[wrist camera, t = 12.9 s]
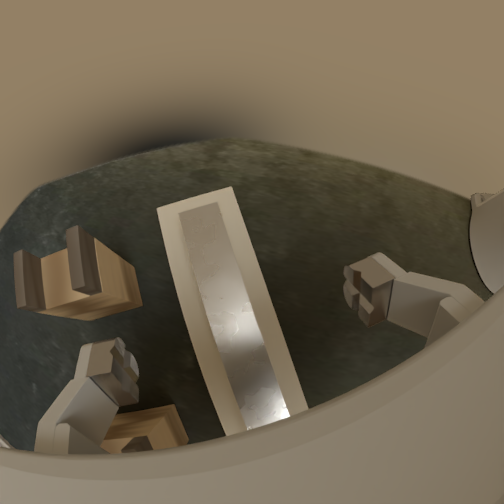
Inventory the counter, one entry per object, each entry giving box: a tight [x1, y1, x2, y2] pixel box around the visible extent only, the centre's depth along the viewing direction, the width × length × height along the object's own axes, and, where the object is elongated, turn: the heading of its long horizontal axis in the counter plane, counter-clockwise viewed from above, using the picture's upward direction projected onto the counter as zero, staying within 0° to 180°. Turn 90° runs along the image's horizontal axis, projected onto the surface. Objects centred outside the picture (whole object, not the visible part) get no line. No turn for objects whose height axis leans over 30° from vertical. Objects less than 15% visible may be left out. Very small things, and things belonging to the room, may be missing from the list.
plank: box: [157, 187, 308, 436], centre depth 24 cm, size 8×28×1 cm, turn 18°
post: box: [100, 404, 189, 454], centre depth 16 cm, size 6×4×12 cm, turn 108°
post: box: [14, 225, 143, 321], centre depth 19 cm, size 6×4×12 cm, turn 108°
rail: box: [179, 202, 290, 430], centre depth 22 cm, size 4×22×4 cm, turn 18°
